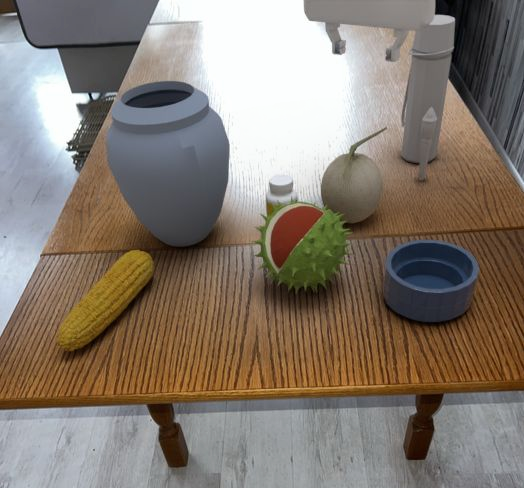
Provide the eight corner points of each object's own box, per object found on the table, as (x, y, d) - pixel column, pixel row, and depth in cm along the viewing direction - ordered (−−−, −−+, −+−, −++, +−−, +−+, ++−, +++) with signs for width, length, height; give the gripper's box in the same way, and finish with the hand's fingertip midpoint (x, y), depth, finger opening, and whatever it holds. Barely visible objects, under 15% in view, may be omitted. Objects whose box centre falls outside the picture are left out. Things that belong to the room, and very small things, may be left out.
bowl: (430, 263, 87) (435, 230, 83) (489, 305, 79) (499, 271, 75) (365, 290, 84) (367, 257, 79) (420, 338, 75) (426, 304, 71)
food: (133, 271, 92) (125, 241, 88) (162, 277, 90) (155, 246, 86) (54, 356, 78) (39, 324, 74) (86, 365, 76) (73, 333, 72)
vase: (212, 275, 89) (187, 124, 72) (110, 258, 95) (64, 115, 78) (255, 214, 102) (242, 74, 85) (163, 202, 108) (133, 69, 91)
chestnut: (310, 286, 71) (222, 231, 76) (315, 330, 84) (240, 280, 89) (377, 203, 74) (289, 155, 79) (373, 257, 87) (297, 213, 92)
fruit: (311, 232, 96) (310, 149, 86) (330, 200, 104) (331, 120, 93) (370, 240, 93) (377, 155, 83) (385, 207, 101) (393, 125, 90)
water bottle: (445, 157, 113) (468, 18, 96) (417, 169, 110) (435, 28, 93) (412, 143, 119) (428, 10, 101) (385, 154, 116) (397, 19, 98)
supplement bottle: (296, 240, 95) (294, 187, 88) (265, 238, 96) (261, 187, 89) (300, 223, 99) (299, 172, 92) (270, 222, 100) (267, 171, 93)
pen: (430, 178, 107) (441, 104, 97) (425, 184, 105) (435, 110, 96) (417, 176, 108) (427, 102, 98) (412, 182, 106) (421, 108, 97)
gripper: (450, -56, 72) (437, 58, 82) (319, -58, 82) (321, 44, 92) (428, -46, 69) (417, 71, 79) (295, -49, 79) (300, 56, 89)
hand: (364, 57), depth 85 cm, fingers open, 8 cm apart
